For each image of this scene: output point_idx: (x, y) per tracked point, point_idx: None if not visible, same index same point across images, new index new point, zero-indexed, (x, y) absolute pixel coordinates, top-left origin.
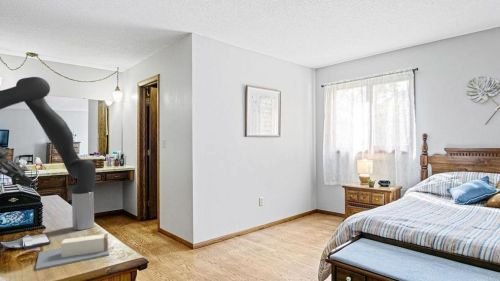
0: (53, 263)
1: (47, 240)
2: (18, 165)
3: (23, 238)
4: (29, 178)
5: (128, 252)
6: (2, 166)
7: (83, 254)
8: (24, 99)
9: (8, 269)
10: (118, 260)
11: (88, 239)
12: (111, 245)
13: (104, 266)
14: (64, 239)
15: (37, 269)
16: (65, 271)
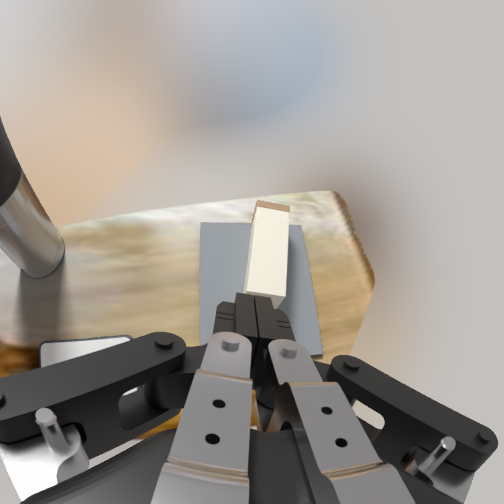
0: (309, 322)
1: (115, 341)
2: (29, 394)
3: None
4: (248, 308)
5: (299, 198)
6: (464, 491)
7: None
8: None
9: None
10: (332, 218)
11: (283, 239)
12: (238, 214)
13: (351, 240)
14: (250, 289)
15: (321, 351)
16: (349, 299)
